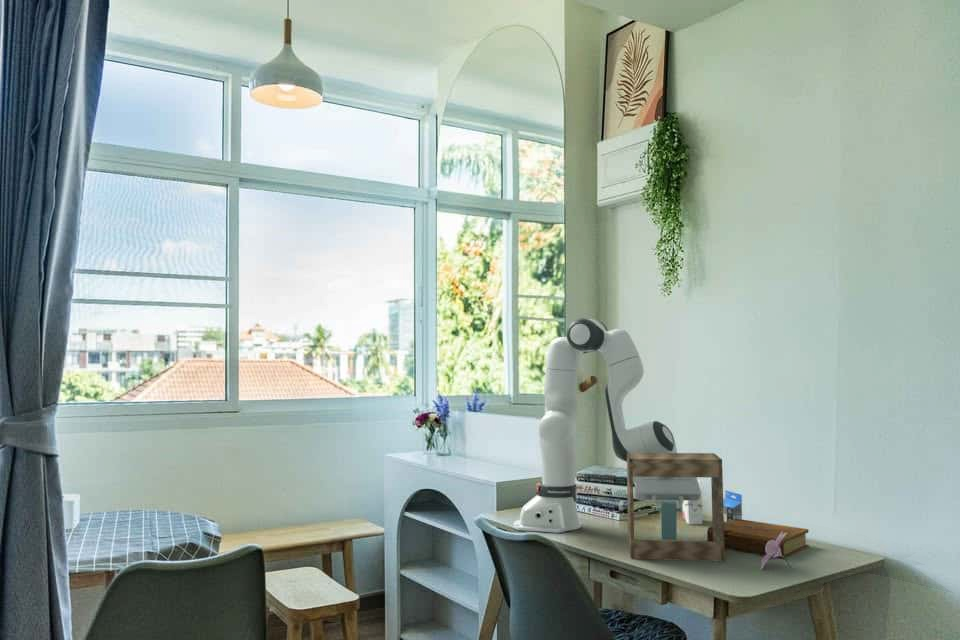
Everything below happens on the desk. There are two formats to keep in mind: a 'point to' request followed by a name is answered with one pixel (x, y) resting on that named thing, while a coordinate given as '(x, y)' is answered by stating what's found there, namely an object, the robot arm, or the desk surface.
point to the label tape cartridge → (732, 506)
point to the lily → (773, 549)
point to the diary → (760, 537)
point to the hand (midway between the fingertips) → (668, 510)
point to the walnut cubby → (678, 468)
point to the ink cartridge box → (693, 510)
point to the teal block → (668, 520)
